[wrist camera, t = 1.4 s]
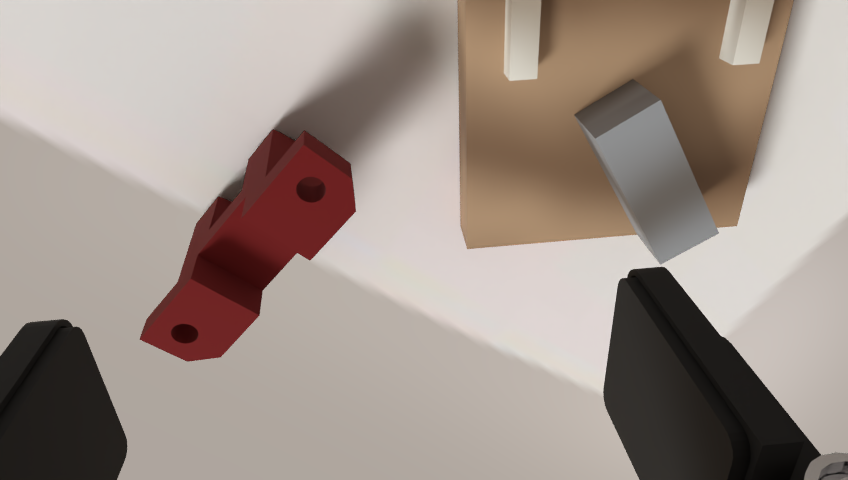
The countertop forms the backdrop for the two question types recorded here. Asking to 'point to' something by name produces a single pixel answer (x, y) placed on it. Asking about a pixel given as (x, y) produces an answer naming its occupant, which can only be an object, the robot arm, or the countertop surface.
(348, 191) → the bracket
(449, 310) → the countertop surface
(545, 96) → the jig
